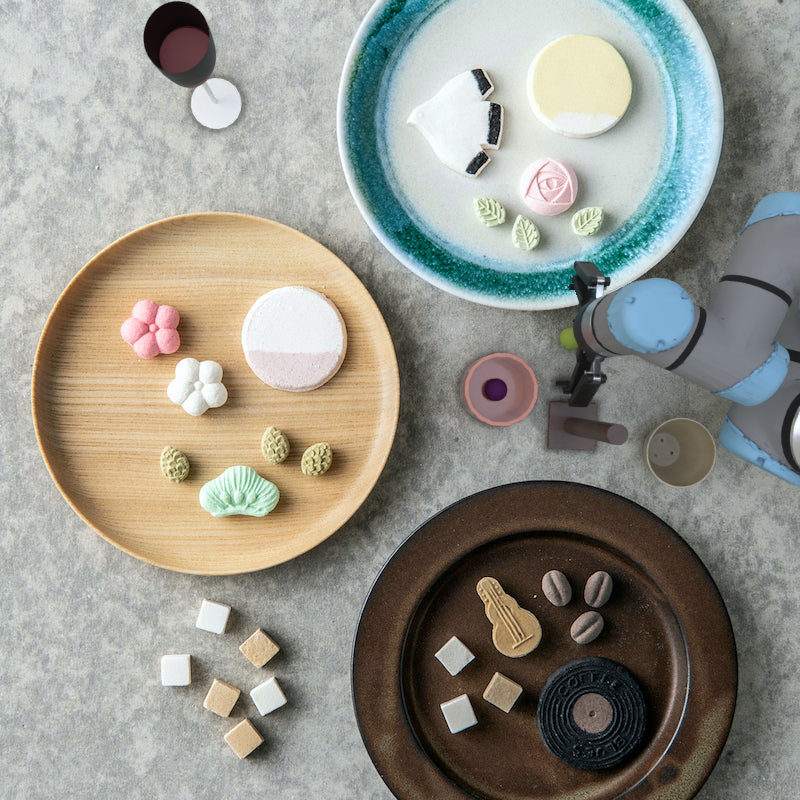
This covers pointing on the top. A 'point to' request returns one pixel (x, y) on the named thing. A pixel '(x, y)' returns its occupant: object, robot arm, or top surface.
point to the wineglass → (191, 61)
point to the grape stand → (580, 428)
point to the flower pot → (680, 452)
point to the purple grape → (495, 389)
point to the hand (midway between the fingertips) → (566, 338)
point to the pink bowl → (518, 389)
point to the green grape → (568, 339)
